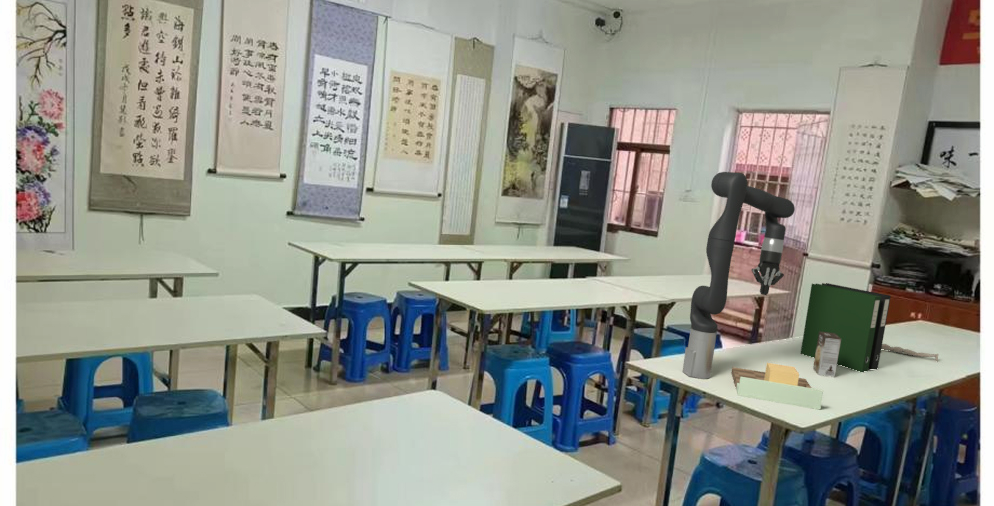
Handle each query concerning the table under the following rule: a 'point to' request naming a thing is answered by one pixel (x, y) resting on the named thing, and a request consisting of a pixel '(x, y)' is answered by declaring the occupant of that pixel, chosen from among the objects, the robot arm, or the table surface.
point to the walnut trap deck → (758, 376)
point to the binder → (847, 323)
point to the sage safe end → (779, 392)
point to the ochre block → (781, 374)
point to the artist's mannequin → (908, 351)
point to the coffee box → (827, 354)
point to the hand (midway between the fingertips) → (763, 294)
